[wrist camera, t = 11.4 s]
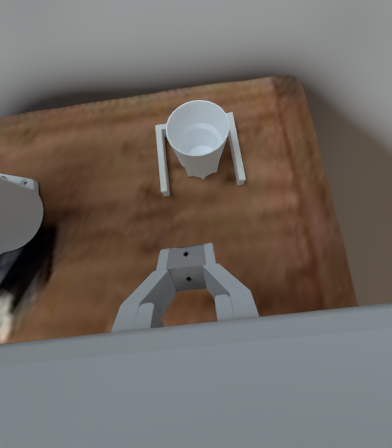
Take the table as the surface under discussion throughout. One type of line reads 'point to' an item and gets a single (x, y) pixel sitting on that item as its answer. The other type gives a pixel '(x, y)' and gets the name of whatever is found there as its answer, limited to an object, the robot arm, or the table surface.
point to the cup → (198, 136)
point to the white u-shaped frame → (233, 146)
